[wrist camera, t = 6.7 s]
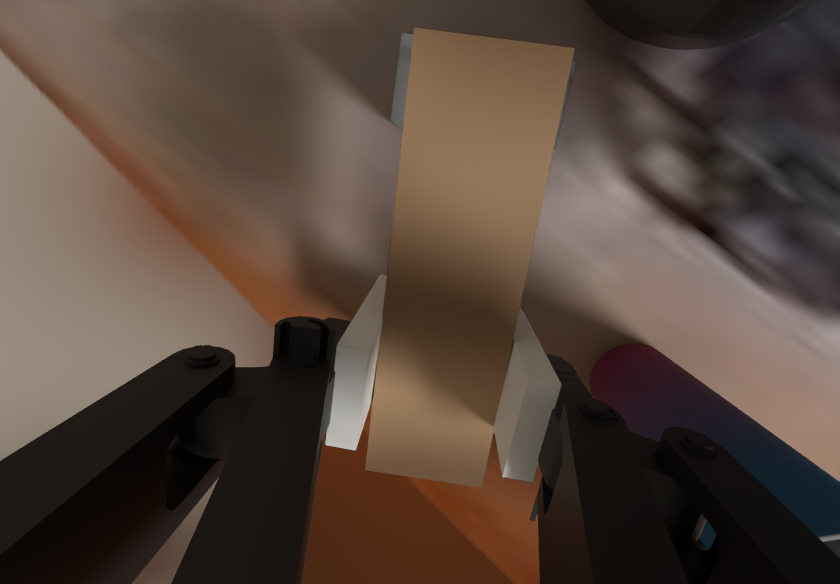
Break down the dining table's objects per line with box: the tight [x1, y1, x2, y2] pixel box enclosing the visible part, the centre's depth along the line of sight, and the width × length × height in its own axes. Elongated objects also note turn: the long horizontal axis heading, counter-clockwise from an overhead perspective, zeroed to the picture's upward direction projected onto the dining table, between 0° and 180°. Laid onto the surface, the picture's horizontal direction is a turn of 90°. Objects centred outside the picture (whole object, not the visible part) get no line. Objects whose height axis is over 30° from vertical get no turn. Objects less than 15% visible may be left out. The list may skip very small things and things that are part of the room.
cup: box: [590, 344, 840, 558], centre depth 20 cm, size 7×7×15 cm
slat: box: [365, 27, 575, 488], centre depth 14 cm, size 12×4×5 cm, turn 173°
